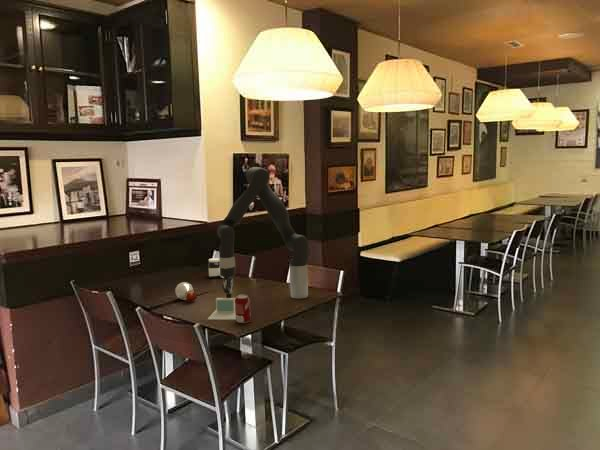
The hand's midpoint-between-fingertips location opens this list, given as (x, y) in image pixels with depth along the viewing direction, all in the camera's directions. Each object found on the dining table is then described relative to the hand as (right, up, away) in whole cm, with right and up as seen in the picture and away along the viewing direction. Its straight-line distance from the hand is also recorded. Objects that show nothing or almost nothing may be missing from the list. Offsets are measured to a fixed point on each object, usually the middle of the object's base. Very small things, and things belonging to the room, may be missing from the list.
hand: (229, 300), depth 240 cm
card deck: (-1, -5, -3) cm, 6 cm away
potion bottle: (-26, -4, +22) cm, 34 cm away
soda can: (+9, -7, -17) cm, 20 cm away
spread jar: (-17, +4, +71) cm, 73 cm away
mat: (0, -6, -6) cm, 8 cm away
